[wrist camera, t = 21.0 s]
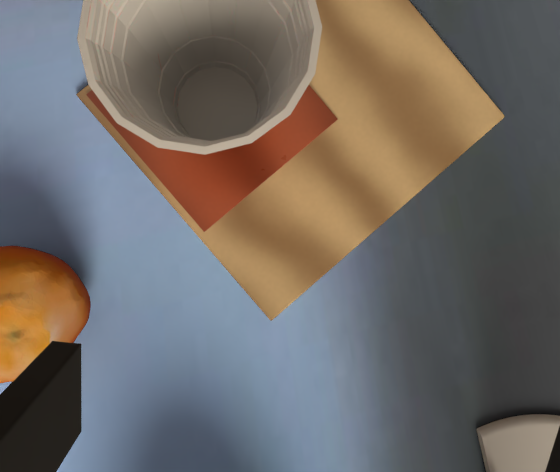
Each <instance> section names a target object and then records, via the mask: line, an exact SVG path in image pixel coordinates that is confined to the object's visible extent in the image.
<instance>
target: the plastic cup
mask: <svg viewBox="0 0 560 472" xmlns="http://www.w3.org/2000/svg"><path fill="white" fill-rule="evenodd" d="M321 32H322V24H321V20H320V16H319V12H318V8H317V4H316V0H83V6H82V13H81V19H80V25H79V31H78V37H77V39H78V44H79V48H80V52H81V56H82V60H83V64H84V68H85V73H86V77H87V81H88V85H89V86H90V87H91V89H92V90H93V92H94V93H95V94H96V96H97V97H98V98H99V100H100V101H101V102H102V104H103V105H104V107H105V108H106V109H107V111H108V112H109V113H110V115H111V116H112V117H113V119H114V120H115V121H116V123H117V124H119V125H121V126H122V127H124V128H126V129H127V130H129V131H131V132H132V133H134V134H136V135H137V136H139V137H141V138H142V139H144V140H146V141H147V142H149V143H151V144H152V145H154V146H156V147H157V148H164V149H170V150H177V151H184V152H191V153H197V154H204V155H206V154H210V153H214V152H218V151H222V150H226V149H230V148H234V147H238V146H242V145H246V144H250V143H253V142H254V141H255V140H257V139H258V138H259V137H261V136H262V135H264V134H265V133H266V132H268V131H269V130H270V129H272V128H273V127H274V126H276V125H277V124H278V123H280V122H281V121H283V120H284V119H285V118H287V117H288V116H289V115H291V113H292V111H293V110H294V108H295V106H296V105H297V103H298V101H299V100H300V98H301V96H302V95H303V93H304V91H305V90H306V88H307V87H308V85H309V83H310V82H311V80H312V78H313V77H314V75H315V72H316V65H317V59H318V52H319V45H320V38H321Z"/></svg>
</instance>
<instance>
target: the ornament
mask: <svg viewBox="0 0 560 472" xmlns="http://www.w3.org/2000/svg"><path fill="white" fill-rule="evenodd" d="M559 426H560V416H557V415H547V414H531V415H520V416H514V417H509V418H505V419H501V420H497V421H494V422H491V423H489V424H486V425H483V426H481V427H479V428H477V429H476V430H477V434H478V439H479V443H480V447H481V451H482V456H483V460H484V464H485V469H486V472H545V470H546V467H547V464H548V461H549V458H550V455H551V451H552V448H553V445H554V442H555V439H556V436H557V433H558V429H559Z"/></svg>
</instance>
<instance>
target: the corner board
mask: <svg viewBox="0 0 560 472" xmlns="http://www.w3.org/2000/svg"><path fill="white" fill-rule="evenodd" d="M316 4H317V8H318V12H319V16H320V20H321V24H322V32H321V38H320V45H319V52H318V59H317V65H316V72H315V75H314V77H313V78H312V80H311V82H310V83H309V85H308V87H307V88H306V90H305V91H304V93H303V95H302V96H301V98H300V100H299V101H298V103H297V105H296V106H295V108H294V110H293V111H292V113H291V115H289V116H288V117H287V118H285V119H284V120H283V121H281V122H280V123H278V124H277V125H276V126H274V127H273V128H272V129H270V130H269V131H268V132H266V133H265V134H264V135H262V136H261V137H259V138H258V139H257V140H255V141H254V142H253V143H250V144H246V145H242V146H238V147H234V148H230V149H226V150H222V151H218V152H214V153H210V154H206V155H204V154H197V153H191V152H184V151H177V150H170V149H164V148H157V147H156V146H154V145H152V144H151V143H149V142H147V141H146V140H144V139H142V138H141V137H139V136H137V135H136V134H134V133H132V132H131V131H129V130H127V129H126V128H124V127H122V126H121V125H119V124H117V123H116V121H115V120H114V119H113V117H112V116H111V115H110V113H109V112H108V111H107V109H106V108H105V107H104V105H103V104H102V102H101V101H100V100H99V98H98V97H97V96H96V94H95V93H94V92H93V90H92V89H91V87H90V86H89V85H87V86H86V87H85V88H84V89H82V90H81V91H80V92H79V93H77V94H76V95H77V96H78V97H79V98H80V100H81V101H82V102H83V103H84V104H85V105H86V107H87V108H88V109H89V110H90V111H91V112H92V114H93V115H94V116H95V117H96V118H97V119H98V121H99V122H100V123H101V124H102V125H103V126H104V128H105V129H106V130H107V131H108V132H109V133H110V135H111V136H112V137H113V138H114V139H115V140H116V141H117V143H118V144H119V145H120V146H121V147H122V148H123V150H124V151H125V152H126V153H127V154H128V155H129V157H130V158H131V159H132V160H133V161H134V162H135V164H136V165H137V166H138V167H139V168H140V169H141V171H142V172H143V173H144V174H145V175H146V176H147V178H148V179H149V180H150V181H151V182H152V183H153V184H154V186H155V187H156V188H157V189H158V190H159V191H160V193H161V194H162V195H163V196H164V197H165V198H166V200H167V201H168V202H169V203H170V204H171V205H172V207H173V208H174V209H175V210H176V211H177V212H178V214H179V215H180V216H181V217H182V218H183V219H184V221H185V222H186V223H187V224H188V225H189V226H190V227H191V229H192V230H193V231H194V232H195V233H196V234H197V236H198V237H199V238H200V239H201V240H202V241H203V243H204V244H205V245H206V246H207V247H208V248H209V250H210V251H211V252H212V253H213V254H214V255H215V257H216V258H217V259H218V260H219V261H220V262H221V263H222V265H223V266H224V267H225V268H226V269H227V270H228V272H229V273H230V274H231V275H232V276H233V277H234V279H235V280H236V281H237V282H238V283H239V284H240V286H241V287H242V288H243V289H244V290H245V291H246V293H247V294H248V295H249V296H250V297H251V298H252V300H253V301H254V302H255V303H256V304H257V305H258V306H259V308H260V309H261V310H262V311H263V312H264V313H265V315H266V316H267V317H268V318H269V319H270V320H271V321H272V320H273V319H274V318H275V317H276V316H277V315H279V314H280V313H281V312H282V311H283V310H284V309H285V308H287V307H288V306H289V305H290V304H291V303H292V302H293V301H295V300H296V299H297V298H298V297H299V296H300V295H301V294H303V293H304V292H305V291H306V290H307V289H308V288H309V287H311V286H312V285H313V284H314V283H315V282H316V281H317V280H319V279H320V278H321V277H322V276H323V275H324V274H325V273H327V272H328V271H329V270H330V269H331V268H332V267H333V266H335V265H336V264H337V263H338V262H339V261H340V260H341V259H343V258H344V257H345V256H346V255H347V254H348V253H349V252H351V251H352V250H353V249H354V248H355V247H356V246H357V245H359V244H360V243H361V242H362V241H363V240H364V239H365V238H367V237H368V236H369V235H370V234H371V233H372V232H374V231H375V230H376V229H377V228H378V227H379V226H380V225H382V224H383V223H384V222H385V221H386V220H387V219H388V218H390V217H391V216H392V215H393V214H394V213H395V212H396V211H398V210H399V209H400V208H401V207H402V206H403V205H404V204H406V203H407V202H408V201H409V200H410V199H411V198H412V197H414V196H415V195H416V194H417V193H418V192H419V191H420V190H422V189H423V188H424V187H425V186H426V185H427V184H428V183H430V182H431V181H432V180H433V179H434V178H435V177H436V176H438V175H439V174H440V173H441V172H442V171H443V170H444V169H446V168H447V167H448V166H449V165H450V164H451V163H452V162H454V161H455V160H456V159H457V158H458V157H459V156H460V155H462V154H463V153H464V152H465V151H466V150H467V149H468V148H470V147H471V146H472V145H473V144H474V143H475V142H476V141H478V140H479V139H480V138H481V137H482V136H483V135H484V134H486V133H487V132H488V131H489V130H490V129H491V128H493V127H494V126H495V125H496V124H497V123H498V122H499V121H501V120H502V119H503V118H504V117H505V116H504V115H503V114H502V112H501V111H500V110H499V109H498V108H497V106H496V105H495V104H494V103H493V102H492V100H491V99H490V98H489V97H488V95H487V94H486V93H485V92H484V91H483V89H482V88H481V87H480V86H479V85H478V83H477V82H476V81H475V80H474V79H473V77H472V76H471V75H470V74H469V73H468V71H467V70H466V69H465V68H464V66H463V65H462V64H461V63H460V62H459V60H458V59H457V58H456V57H455V56H454V54H453V53H452V52H451V51H450V50H449V48H448V47H447V46H446V45H445V44H444V42H443V41H442V40H441V39H440V37H439V36H438V35H437V34H436V33H435V31H434V30H433V29H432V28H431V27H430V25H429V24H428V23H427V22H426V21H425V19H424V18H423V17H422V16H421V15H420V13H419V12H418V11H417V10H416V8H415V7H414V6H413V5H412V4H411V2H410V1H409V0H316Z"/></svg>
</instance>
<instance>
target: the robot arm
mask: <svg viewBox="0 0 560 472" xmlns="http://www.w3.org/2000/svg"><path fill="white" fill-rule="evenodd" d="M80 433H81V344H77V343H68V342H59V341H52V342H51V343H50V344H49V345H48V346H47V347H46V348H45V349H44V350H43V351H42V352H41V353H40V354H39V355H38V356H37V357H36V358H35V359H34V360H33V361H32V362H31V363H30V365H29V366H28V367H27V368H26V369H25V370H24V371H23V372H22V373H21V374H20V375H19V376H18V377H17V378H16V379H15V380H14V381H13V382H12V383H11V384H10V385H9V386H8V387H7V388H6V389H5V390H4V391H3V392H2V393H1V394H0V472H56V471H57V469H58V468H59V466H60V465H61V463H62V461H63V460H64V458H65V457H66V455H67V453H68V452H69V450H70V449H71V447H72V445H73V444H74V442H75V441H76V439H77V437H78V436H79V434H80ZM545 472H560V426H559V429H558V433H557V436H556V439H555V442H554V445H553V448H552V451H551V455H550V458H549V461H548V464H547V467H546V470H545Z"/></svg>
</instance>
